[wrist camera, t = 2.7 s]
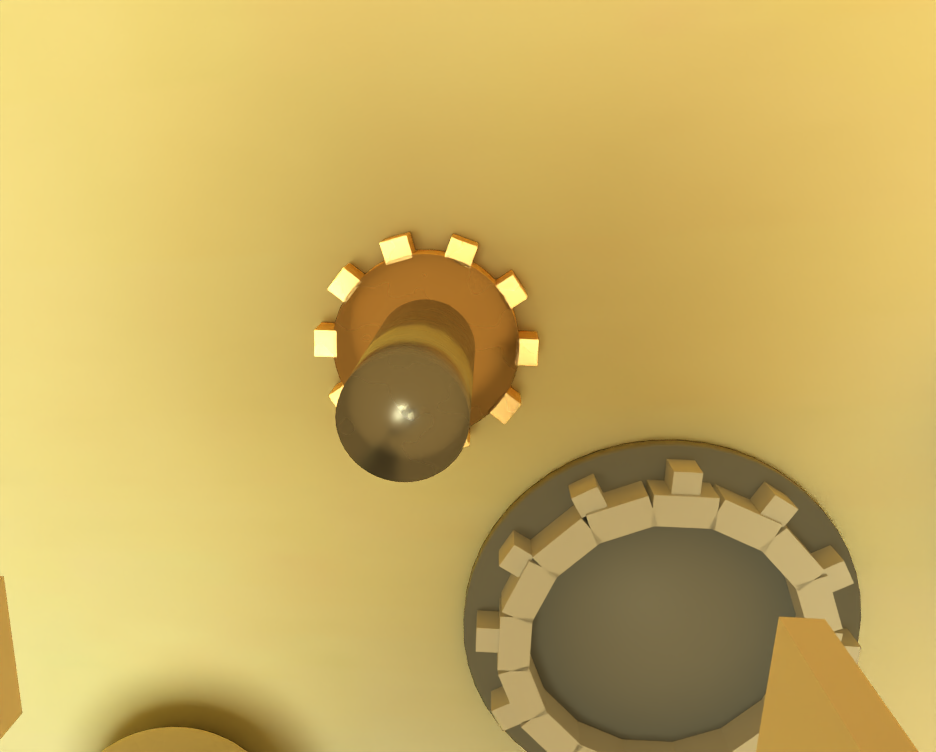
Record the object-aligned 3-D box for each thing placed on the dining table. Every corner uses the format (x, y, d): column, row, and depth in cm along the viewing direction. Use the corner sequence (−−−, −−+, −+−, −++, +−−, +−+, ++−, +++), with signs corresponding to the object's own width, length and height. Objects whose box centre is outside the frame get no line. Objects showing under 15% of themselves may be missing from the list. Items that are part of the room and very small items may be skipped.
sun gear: (323, 434, 35) (255, 548, 25) (320, 227, 33) (244, 262, 22) (529, 443, 35) (545, 562, 25) (542, 237, 32) (566, 275, 22)
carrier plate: (457, 770, 40) (455, 808, 37) (471, 430, 35) (470, 450, 32) (819, 788, 39) (839, 828, 37) (885, 449, 34) (914, 470, 32)
